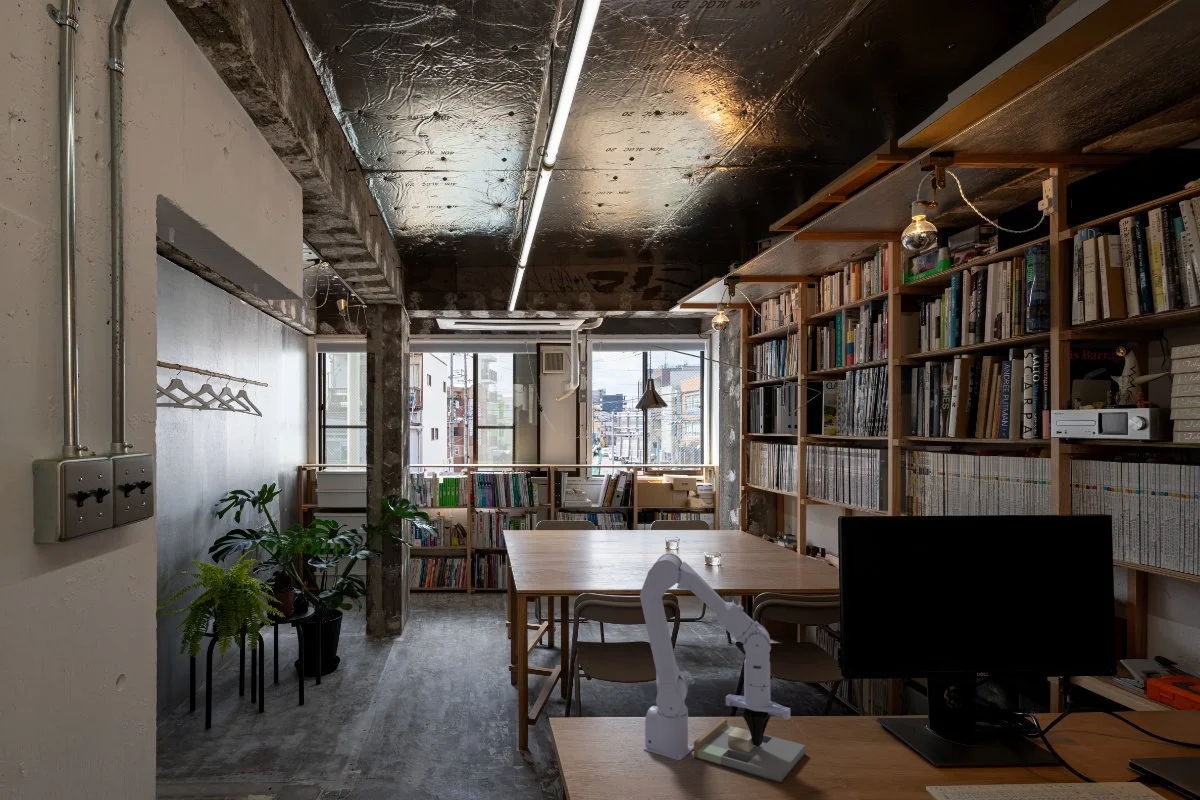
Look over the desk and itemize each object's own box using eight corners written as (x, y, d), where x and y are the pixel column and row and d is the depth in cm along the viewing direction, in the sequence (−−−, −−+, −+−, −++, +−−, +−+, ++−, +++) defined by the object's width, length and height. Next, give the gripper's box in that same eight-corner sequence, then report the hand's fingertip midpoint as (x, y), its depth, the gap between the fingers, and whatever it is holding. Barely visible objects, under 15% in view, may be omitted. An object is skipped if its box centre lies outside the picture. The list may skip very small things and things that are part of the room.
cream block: (727, 746, 158) (727, 735, 158) (736, 738, 162) (736, 727, 162) (748, 751, 155) (748, 740, 155) (757, 743, 159) (757, 732, 159)
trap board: (693, 758, 157) (693, 742, 157) (723, 732, 170) (723, 717, 170) (780, 783, 145) (780, 766, 146) (805, 754, 159) (805, 738, 159)
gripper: (794, 683, 157) (795, 745, 156) (734, 671, 165) (734, 729, 164) (784, 693, 151) (784, 757, 150) (721, 679, 159) (721, 740, 158)
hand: (757, 744), depth 157 cm, fingers closed
